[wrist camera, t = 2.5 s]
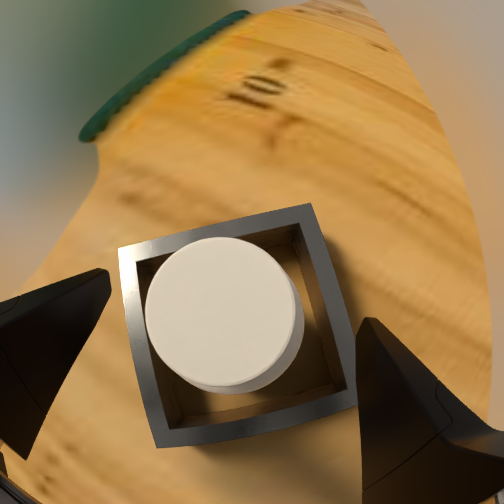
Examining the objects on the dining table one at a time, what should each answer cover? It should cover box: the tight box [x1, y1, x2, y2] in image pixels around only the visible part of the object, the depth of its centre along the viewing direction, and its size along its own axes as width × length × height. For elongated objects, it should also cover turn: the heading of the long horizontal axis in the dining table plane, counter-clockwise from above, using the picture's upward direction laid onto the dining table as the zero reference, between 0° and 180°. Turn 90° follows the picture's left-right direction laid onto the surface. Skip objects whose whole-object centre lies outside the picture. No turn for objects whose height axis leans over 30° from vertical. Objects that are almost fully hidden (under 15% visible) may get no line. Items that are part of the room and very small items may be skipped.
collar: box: [118, 203, 358, 448], centre depth 15 cm, size 11×11×3 cm
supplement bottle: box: [145, 237, 304, 395], centre depth 12 cm, size 5×5×10 cm
